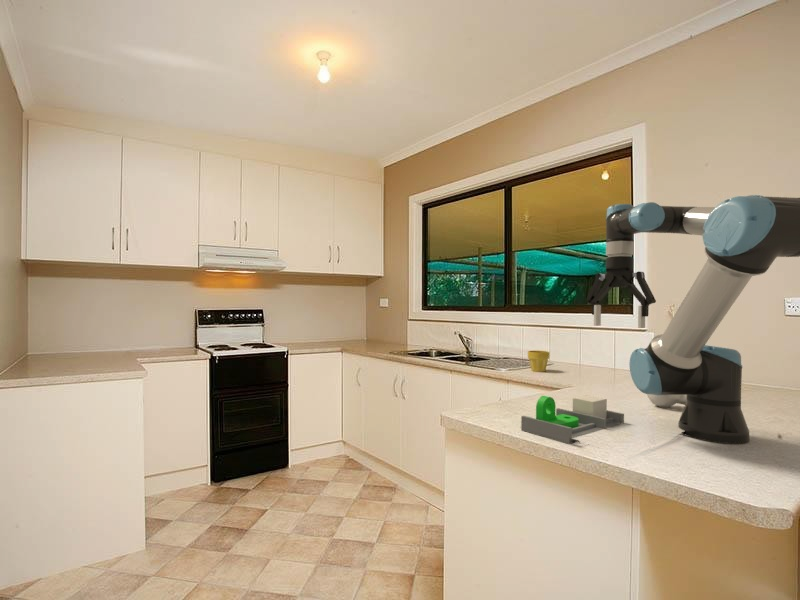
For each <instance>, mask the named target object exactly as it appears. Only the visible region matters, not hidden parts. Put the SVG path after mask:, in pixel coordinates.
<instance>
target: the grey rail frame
mask: <svg viewBox="0 0 800 600" xmlns="http://www.w3.org/2000/svg"><path fill="white" fill-rule="evenodd" d="M561 414H565V415H570V416H574V417H577V418H578V419H579V427H575V428H571V427H567V426H563V425H559V424H555V423H551V422H547V421H543V420H539V419H536V417H535V418H534V417H530V416H527V415H521V423H520V424H521V425H520V428H521V429H520V430H521V431H523V432H526V433H530V434H533V435H537V436H540V437H544V438H547V439H550V440H553V441H558V442H561V443H565V444H568V445H570V444H571V445H572V444H573V443H578V442H579V440H577V439H575V438H579V437H581V436H584V435H589V434H591V433H595V432H599V431H601V430H605V429H609V428H612V427H615V426H620V425H622V424H624V423H625V413H622V412H617V411H612V410H607V417H606V419H605V418H601V417H596V416H592V415H587V414H583V413H578V412H574V411H573V410H569V409H568V410H567V409H563V408H561V407H560V408H559V407H558V408H555V415H561Z"/></svg>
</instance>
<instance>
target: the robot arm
mask: <svg viewBox="0 0 800 600" xmlns="http://www.w3.org/2000/svg"><path fill="white" fill-rule="evenodd" d="M605 232H606V234H605V241H606V243H605V245H606V246H605V256H606V258H605V271H606V272H605V273H600V272H599V273H598V272H597V273H596V274H595V279H594V281H593V285H592V286H591V288H590V290H589V292H588V295H587V296H586V298H585V303H589V304H590V305H591V315H592V316H593V326H594V327H595V326H596V327H598V326H601V325H602V322H601V321H602V317H601V316H602V305H601V304H600V302H602V300H603V299H604V298H605V296H607V294H608V293H609V292H610V291H611V289H613V288H626V289H628V290H629V291H630V293H632V295H633V296H634V297H635V299H636V300H637V301H638V302H639V303H640V305H638V307H637V308H638V310H637V311H638V312H637V314H638V315H637V317H638V318H637V328H638V329H646V317H649V309H650V308H649V306H650V305H652V304H655V303H656V302H657V300H656V298H655V296H654V294H653V292H652V290H651V288H650V286H649V284H648V283H647V281H646V277H645V275H646V274H645V272H644V271H636V272H634V258H633V255H634V237H635V234H641V233H652V234H680V235H690V236H691V235H693V236H701V237H702V241H703V244H704V246H705V247H704V253H705V255H706V256H707V259H706V261H705V263H704V265H703V266H702V268H701V270H700V272H699V273H698V275H697V276H696V278H695V280H694V281H693V283H692V285H691V286H690V289H689V290H688V292H687V294H686V295H685V297H684V299H683V300H682V302H681V304H680V305H679V307H678V308H677V311H675V314H674V316H672V318H671V321H669V323H668V325H667V327H666V329H665V330H664V332H663V334H657V335H655V336H654V337H653V338H651V341H650V342H649V344H648V346H647V347H646V348H642V347H640V348H635V349H634V350H633V351H632V353H631V354H630V357H629V362H628V363H629V364H628V365H629V372H630V376H631V377H630V378H631V380H632V382H633V383H634V386H635V387H636V388H637V390H639V391H640V393H643V394H645V395H647V394H652V395H687V400H686V405H684V407H683V410H682V412H681V415H680V418H679V420H678V425H677V427H678V428H679V429H680V430H682V432H680V433H681V434H683V435H684V436H687V437H691V438H694V439H696V440H697V439H698V440H703V441H707V442H714V443H721V444H746V443H749V442H750V430H749V426H748V423H747V422H746V418H745V416H744V414H743V413H744V412H743V410H742V374H743V373H742V372H743V371H742V370H743V365H742V355H741V353H740V352H739V351H738V350H737V349H733V348H729V347H728V348H727V347H722V346H714V345H708V344H707V342H708V341H709V340H710V339H711V336H712V335H713V334H714V332H715V331H716V330H717V328H718V327H719V325H720V324H721V323H722V320H724V318H725V316H726V315H727V314H728V312H729V311H730V309H731V307H732V306H733V305H734V303H736V300H737V299H738V297H739V296H740V294H742V292H743V291H744V289H745V288H746V286H748V284H749V282H750V281H751V279H752V278H753V277H755V276H761V275H763V274H765V273H767V271H768V270H769V268H770V267H771V266H772V265H773V263H774V262H775V259H777V258H794V257H795V258H799V257H800V197H787V196H784V197H781V196H763V195H757V194H755V195H754V194H753V195H752V194H751V195H747V196H746V195H744V196H734V197H731V198H730V197H729V198H728V199H725V200H724V201H721V202H720V203H719V204H717V205H716V206H715V207H714V206H676V205H675V206H674V205H673V206H669V205H660V204H658V203H656V202H653V201H651V202H650V201H649V202H648V201H647V202H643V203H640V204H637V205H635V206H634V205H632V204H629V203H618V204H617V203H616V204H613V205H610V206H608V208H606V217H605ZM634 278H635V279H636V280H637V283H638V285H639V287H640V289H641V291H642V292H641V291H640V289H638V288H637V287H636V284H635V283H634V282H633V279H634ZM604 280H606V281H605V283H604V284H603V282H604ZM602 284H603V286H602ZM601 286H602V288H601ZM600 288H601V289H600ZM642 293H643V294H642ZM706 344H707V345H706Z"/></svg>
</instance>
